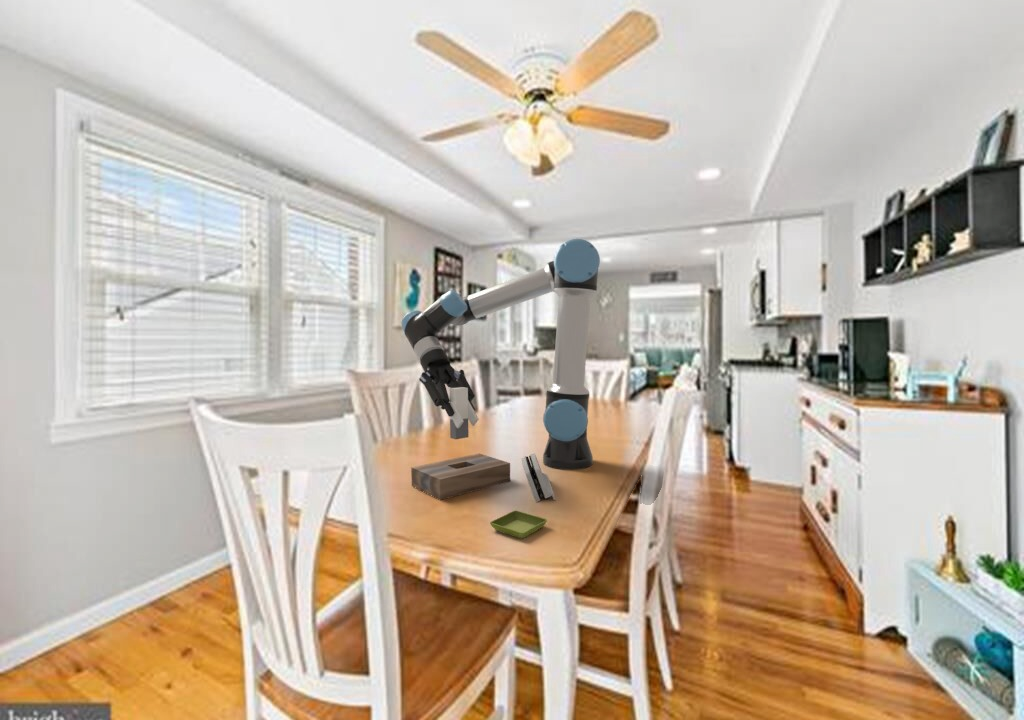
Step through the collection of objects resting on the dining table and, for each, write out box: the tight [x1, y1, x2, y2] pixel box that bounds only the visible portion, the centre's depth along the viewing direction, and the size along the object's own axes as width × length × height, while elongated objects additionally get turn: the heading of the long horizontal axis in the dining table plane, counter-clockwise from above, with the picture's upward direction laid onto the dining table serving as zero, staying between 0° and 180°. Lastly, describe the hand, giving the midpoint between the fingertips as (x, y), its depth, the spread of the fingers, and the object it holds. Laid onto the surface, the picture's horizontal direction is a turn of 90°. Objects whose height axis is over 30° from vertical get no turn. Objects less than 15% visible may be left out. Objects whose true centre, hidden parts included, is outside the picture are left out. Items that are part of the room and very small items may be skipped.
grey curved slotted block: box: [521, 453, 557, 502], centre depth 122 cm, size 17×5×10 cm, turn 2°
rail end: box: [449, 387, 469, 440], centre depth 125 cm, size 2×4×13 cm, turn 131°
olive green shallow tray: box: [489, 510, 548, 539], centre depth 97 cm, size 9×9×2 cm
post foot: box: [410, 453, 511, 500], centre depth 127 cm, size 14×22×5 cm, turn 130°
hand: (467, 423), depth 122 cm, fingers closed on rail end, 4 cm apart
